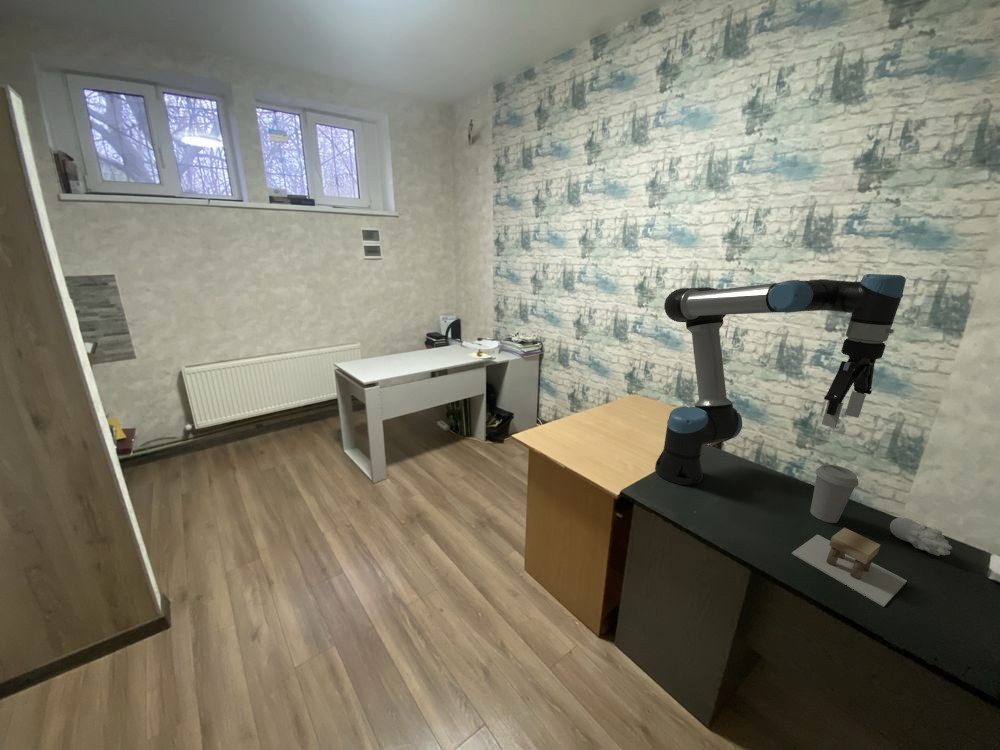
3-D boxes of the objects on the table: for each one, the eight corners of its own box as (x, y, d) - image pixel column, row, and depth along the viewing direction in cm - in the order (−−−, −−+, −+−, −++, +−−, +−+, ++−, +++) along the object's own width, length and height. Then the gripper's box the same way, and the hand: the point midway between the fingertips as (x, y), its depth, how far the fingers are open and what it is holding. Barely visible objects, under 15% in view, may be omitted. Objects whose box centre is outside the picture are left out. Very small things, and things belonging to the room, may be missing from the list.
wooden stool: (823, 561, 96) (831, 536, 94) (836, 551, 100) (844, 527, 98) (859, 581, 91) (868, 555, 88) (871, 570, 94) (880, 544, 92)
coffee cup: (853, 529, 109) (869, 482, 105) (814, 523, 111) (829, 478, 106) (832, 508, 118) (846, 464, 114) (797, 503, 120) (810, 460, 115)
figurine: (901, 519, 109) (963, 546, 98) (888, 538, 109) (948, 567, 98) (895, 508, 106) (957, 534, 96) (881, 527, 106) (942, 556, 95)
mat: (791, 553, 99) (791, 552, 99) (816, 535, 106) (817, 534, 106) (883, 607, 85) (884, 605, 84) (906, 581, 91) (907, 580, 91)
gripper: (864, 348, 84) (836, 436, 91) (904, 338, 96) (878, 416, 103) (823, 341, 91) (800, 424, 97) (866, 333, 103) (843, 407, 109)
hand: (840, 420), depth 100 cm, fingers open, 13 cm apart
